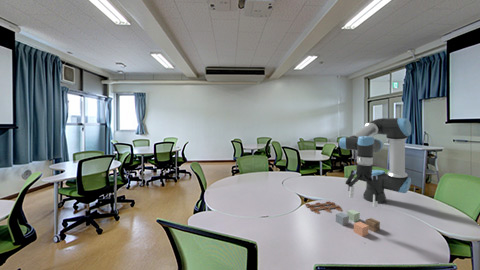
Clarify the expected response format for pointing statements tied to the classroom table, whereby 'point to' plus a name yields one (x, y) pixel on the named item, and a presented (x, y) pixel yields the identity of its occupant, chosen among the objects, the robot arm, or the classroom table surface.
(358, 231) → the terracotta block
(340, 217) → the slate block
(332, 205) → the decorative fence
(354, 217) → the sage block
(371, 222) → the walnut block
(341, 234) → the classroom table surface
